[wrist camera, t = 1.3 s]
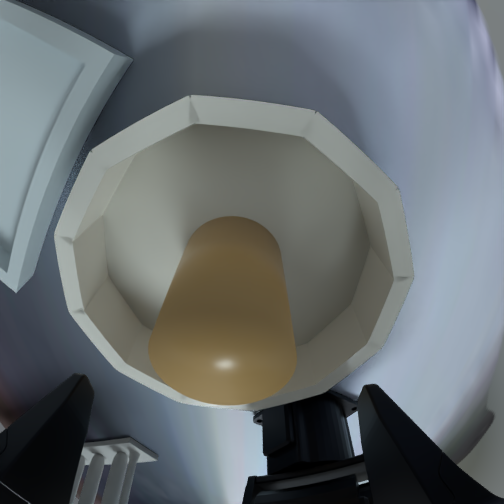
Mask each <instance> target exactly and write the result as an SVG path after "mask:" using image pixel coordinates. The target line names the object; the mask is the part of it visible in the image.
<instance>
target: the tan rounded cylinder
mask: <svg viewBox="0 0 504 504" xmlns="http://www.w3.org/2000/svg"><path fill="white" fill-rule="evenodd" d="M148 354H149V359H150V362H151V364H152V366H153V368H154V370H155V372H156V373H157V374H158V376H159V377H160V378H161V379H162V380H163V381H164V382H165V383H166V384H167V385H168V386H170V387H171V388H172V389H174V390H175V391H177V392H179V393H180V394H182V395H184V396H186V397H189V398H191V399H194V400H197V401H200V402H204V403H208V404H214V405H225V406H230V405H244V404H249V403H253V402H257V401H260V400H263V399H265V398H267V397H269V396H271V395H273V394H275V393H276V392H278V391H279V390H280V389H282V388H283V387H284V386H285V385H286V384H287V383H288V382H289V380H290V379H291V377H292V376H293V374H294V371H295V369H296V364H297V353H296V346H295V339H294V333H293V326H292V320H291V313H290V307H289V300H288V294H287V288H286V281H285V275H284V269H283V263H282V257H281V251H280V248H279V245H278V243H277V241H276V239H275V238H274V236H273V235H272V234H271V233H270V232H269V231H268V230H267V229H266V228H265V227H264V226H262V225H261V224H259V223H257V222H255V221H253V220H251V219H248V218H244V217H239V216H224V217H219V218H216V219H213V220H210V221H208V222H206V223H204V224H203V225H201V226H200V227H199V228H198V229H197V230H196V231H195V232H194V233H193V234H192V236H191V237H190V239H189V241H188V243H187V245H186V248H185V250H184V252H183V255H182V257H181V260H180V262H179V265H178V267H177V269H176V272H175V274H174V277H173V279H172V282H171V284H170V287H169V289H168V292H167V294H166V297H165V300H164V302H163V305H162V307H161V310H160V312H159V315H158V318H157V320H156V323H155V326H154V328H153V331H152V334H151V336H150V339H149V344H148Z"/></svg>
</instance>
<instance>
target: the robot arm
mask: <svg viewBox="0 0 504 504" xmlns="http://www.w3.org/2000/svg"><path fill="white" fill-rule="evenodd" d="M93 399H94V389H93V387H92V385H91V383H90V381H89V379H88V377H87V376H86V375H85V374H80V373H75V374H73V375H72V376H70V377H69V378H68V379H67V380H65V381H64V382H63V383H62V384H60V385H59V386H58V387H57V388H55V389H54V390H53V391H52V392H50V393H49V394H48V395H47V396H46V397H44V398H43V399H42V400H41V401H39V402H38V403H37V404H36V405H34V406H33V407H32V408H31V409H30V410H28V411H27V412H26V413H25V414H23V415H22V416H21V417H20V418H19V419H17V420H16V421H15V422H14V423H12V424H11V425H10V426H9V427H8V429H5V430H4V431H3V432H1V433H0V504H69V503H70V498H71V494H72V490H73V485H74V481H75V477H76V473H77V469H78V465H79V461H80V457H81V454H82V450H83V446H84V443H85V439H86V436H87V432H88V427H89V421H90V415H91V410H92V404H93ZM356 411H358V417H359V426H360V436H361V444H362V450H363V454H361V455H358V456H355V455H354V450H353V445H352V441H351V436H350V431H349V427H348V423H347V417H348V416H350V415H352V414H353V413H355V412H356ZM253 422H254V423H256V424H258V425H261V426H263V454H264V456H267V475H265V476H258V477H257V476H249V477H248V481H247V486H246V488H245V492H244V497H243V502H242V504H504V498H500V497H498V496H496V495H494V494H492V493H491V492H489V491H488V490H487V489H486V488H484V487H483V486H482V485H481V484H479V483H478V482H476V481H475V480H474V479H473V478H472V477H470V476H469V475H468V474H467V473H465V472H464V471H463V470H462V469H461V468H459V467H458V466H457V465H456V464H455V463H454V462H453V461H452V460H451V459H450V458H449V457H448V456H447V455H446V454H445V453H444V452H442V450H441V449H440V448H439V447H438V446H437V445H436V444H435V443H434V442H433V441H432V440H431V439H430V438H429V437H428V436H427V435H426V434H425V433H424V432H423V431H422V430H421V429H420V428H419V427H418V426H417V425H416V424H415V423H414V422H413V421H412V420H411V419H410V417H409V416H408V415H407V414H406V413H405V412H404V411H403V410H402V409H401V408H400V407H399V406H398V405H397V404H396V403H395V402H394V401H393V400H392V399H391V398H390V397H389V396H388V395H387V394H386V393H385V392H384V391H383V390H382V389H381V388H380V387H379V386H378V385H377V384H368V385H364V386H363V388H362V391H361V393H360V396H359V398H358V401H357V402H356V401H354V400H352V399H350V398H347V397H345V396H343V395H341V394H338V393H336V392H334V391H332V390H330V389H329V390H328V391H326V392H325V393H324V392H323V393H322V394H319V395H316V396H312V397H309V398H305V399H301V400H298V401H294V402H290V403H286V404H282V405H278V406H274V407H270V408H266V409H263V410H262V411H260V412H259V413H257V414H256V415H254V416H253ZM365 480H368V481H369V482H367V483H364V484H360V485H359V484H358V482H362V481H365Z"/></svg>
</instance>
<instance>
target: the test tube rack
mask: <svg viewBox="0 0 504 504" xmlns="http://www.w3.org/2000/svg"><path fill="white" fill-rule="evenodd" d="M157 460H158V455H157V454H155V453H153V452H152V451H150V450H149V449H147V448H146V447H144V446H143V445H141V444H140V443H138V442H137V441H135V440H134V439H132V438H131V437H129V438H122V439H115V440H107V441H99V442H89V443H84V446H83V450H82V454H81V457H80V461H79V465H78V469H77V473H76V477H75V481H74V485H73V490H72V494H71V498H70V503H69V504H73V503H74V500H75V496H76V493H77V489H78V486H79V483H80V479H81V476H82V473H83V469H84V466H85V465H89V468H88V472H87V475H86V478H85V481H84V485H83V488H82V492H81V495H80V499H79V502H78V504H94V501H95V497H96V494H97V490H98V486H99V482H100V479H101V475H102V472H103V468H104V464H111V468H110V471H109V475H108V479H107V483H106V486H105V490H104V494H103V498H102V502H101V504H118V502H119V498H120V502H119V504H127V503H128V498H129V494H130V489H131V484H132V480H133V475H134V471H135V467H136V463H138V462H149V461H157ZM127 463H129V464H128V468H127ZM126 468H127V472H126ZM125 472H126V476H125ZM124 477H125V480H124ZM123 481H124V484H123ZM122 485H123V489H122ZM121 489H122V493H121ZM120 494H121V497H120Z"/></svg>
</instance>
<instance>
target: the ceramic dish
mask: <svg viewBox="0 0 504 504" xmlns="http://www.w3.org/2000/svg"><path fill="white" fill-rule="evenodd" d="M224 216H239V217H244V218H248V219H251V220H253V221H255V222H257V223H259V224H261V225H262V226H264V227H265V228H266V229H267V230H268V231H269V232H270V233H271V234H272V235H273V236H274V238H275V239H276V241H277V243H278V245H279V248H280V251H281V257H282V263H283V269H284V275H285V281H286V288H287V294H288V300H289V307H290V313H291V320H292V326H293V333H294V339H295V346H296V353H297V364H296V369H295V371H294V374H293V376H292V377H291V379H290V380H289V382H288V383H287V384H286V385H285V386H284V387H283V388H282V389H280V390H279V391H278V392H276V393H275V394H273V395H271V396H269V397H267V398H265V399H263V400H260V401H257V402H253V403H249V404H244V405H230V406H225V405H214V404H208V403H204V402H200V401H197V400H194V399H191V398H189V397H186V396H184V395H182V394H180V393H179V392H177V391H175V390H174V389H172V388H171V387H170V386H168V385H167V384H166V383H165V382H164V381H163V380H162V379H161V378H160V377H159V376H158V374H157V373H156V372H155V370H154V368H153V366H152V364H151V362H150V359H149V354H148V344H149V339H150V336H151V334H152V331H153V328H154V326H155V323H156V320H157V318H158V315H159V312H160V310H161V307H162V305H163V302H164V300H165V297H166V294H167V292H168V289H169V287H170V284H171V282H172V279H173V277H174V274H175V272H176V269H177V267H178V265H179V262H180V260H181V257H182V255H183V252H184V250H185V248H186V245H187V243H188V241H189V239H190V237H191V236H192V234H193V233H194V232H195V231H196V230H197V229H198V228H199V227H200V226H201V225H203V224H204V223H206V222H208V221H210V220H213V219H216V218H219V217H224ZM54 234H55V235H54V239H55V245H56V252H57V258H58V264H59V269H60V274H61V279H62V284H63V289H64V294H65V298H66V303H67V307H68V311H70V312H69V313H70V314H71V316H72V317H73V318H74V320H75V321H76V322H77V323H78V325H79V326H80V327H81V329H82V330H83V331H84V332H85V334H86V335H87V336H88V337H89V339H90V340H91V341H92V342H93V344H94V345H95V346H96V347H97V348H98V350H99V351H100V352H101V353H102V354H103V356H104V357H105V358H106V359H107V360H108V361H109V362H110V364H111V365H112V366H113V367H114V368H115V369H117V371H119V372H121V373H123V374H125V375H126V376H128V377H130V378H132V379H134V380H135V381H137V382H139V383H141V384H143V385H145V386H147V387H149V388H151V389H153V390H155V391H157V392H159V393H161V394H163V395H165V396H167V397H169V398H171V399H173V400H175V401H177V402H179V403H181V402H182V403H183V404H190V405H197V406H205V407H213V408H222V409H232V410H243V411H253V410H254V411H257V410H261V409H266V408H270V407H274V406H278V405H282V404H286V403H290V402H294V401H298V400H301V399H305V398H309V397H312V396H316V395H319V394H322V393H323V392H324V393H325V392H326V391H328V390H329V389H330V388H332V387H333V386H334V385H336V384H337V383H339V382H340V381H341V380H343V379H344V378H345V377H347V376H348V375H349V374H350V373H352V372H353V371H354V370H356V369H357V368H358V367H360V366H361V365H362V364H363V363H365V362H366V361H367V360H368V359H370V358H371V357H372V356H373V355H374V354H376V353H377V352H378V351H379V350H380V349H382V348H381V347H383V346H384V344H385V342H386V340H387V338H388V336H389V334H390V331H391V329H392V327H393V325H394V323H395V321H396V319H397V316H398V314H399V312H400V310H401V308H402V305H403V303H404V301H405V298H406V296H407V294H408V291H409V289H410V286H411V284H412V282H413V279H414V277H413V276H414V270H413V263H412V256H411V249H410V243H409V237H408V231H407V225H406V220H405V215H404V210H403V205H402V200H401V196H400V191H399V189H398V187H397V186H396V185H395V183H394V182H393V181H392V180H391V179H390V178H389V177H388V176H387V175H386V174H385V173H384V172H383V171H382V170H381V169H380V168H379V167H378V166H377V165H376V164H375V163H374V162H373V161H372V160H371V159H370V158H369V157H368V156H367V155H366V154H364V153H363V152H362V151H361V150H360V149H359V148H358V147H357V146H356V145H355V144H354V143H353V142H352V141H351V140H349V139H348V138H347V137H346V136H345V135H344V134H343V133H342V132H341V131H340V130H338V129H337V128H336V127H335V126H334V125H333V124H332V123H330V122H329V121H328V120H327V119H326V118H325V117H323V116H322V115H321V114H320V113H319V112H317V111H315V110H310V109H305V108H299V107H294V106H288V105H281V104H275V103H268V102H261V101H253V100H245V99H236V98H226V97H215V96H201V95H188V96H186V97H184V98H182V99H180V100H178V101H176V102H174V103H172V104H170V105H168V106H166V107H164V108H162V109H160V110H158V111H156V112H154V113H153V114H151V115H149V116H147V117H145V118H143V119H142V120H140V121H138V122H136V123H134V124H133V125H131V126H129V127H127V128H126V129H124V130H122V131H121V132H119V133H117V134H116V135H114V136H112V137H111V138H109V139H107V140H106V141H104V142H103V143H101V144H99V145H98V146H96V147H95V148H93V149H92V151H90V152H89V154H88V156H87V158H86V160H85V162H84V164H83V166H82V168H81V170H80V173H79V175H78V177H77V179H76V181H75V184H74V186H73V188H72V190H71V193H70V195H69V197H68V200H67V202H66V204H65V207H64V209H63V212H62V214H61V217H60V219H59V222H58V225H57V227H56V230H55V233H54Z"/></svg>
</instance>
